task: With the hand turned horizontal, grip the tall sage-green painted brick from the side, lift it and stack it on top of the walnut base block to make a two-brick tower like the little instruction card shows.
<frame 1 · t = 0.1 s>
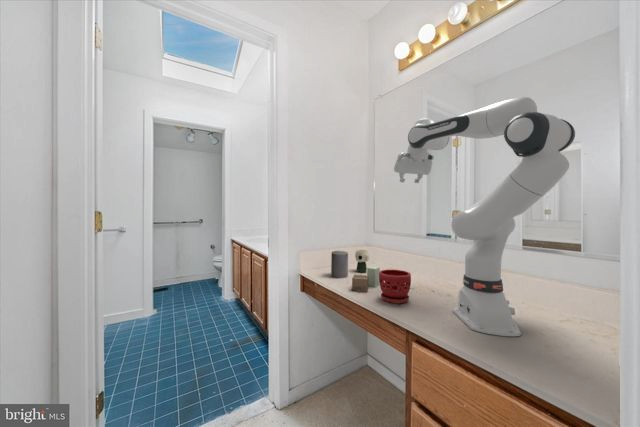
hand: (409, 182, 126), 52 cm above the counter, tool tilted 20°, fingers open, 8 cm apart
character mug: (361, 272, 155), on the counter
sage brick: (373, 285, 128), on the counter
plant pot: (394, 300, 108), on the counter
pillar candle: (339, 276, 145), on the counter
walnut base: (360, 289, 122), on the counter
instruction card: (398, 287, 124), on the counter
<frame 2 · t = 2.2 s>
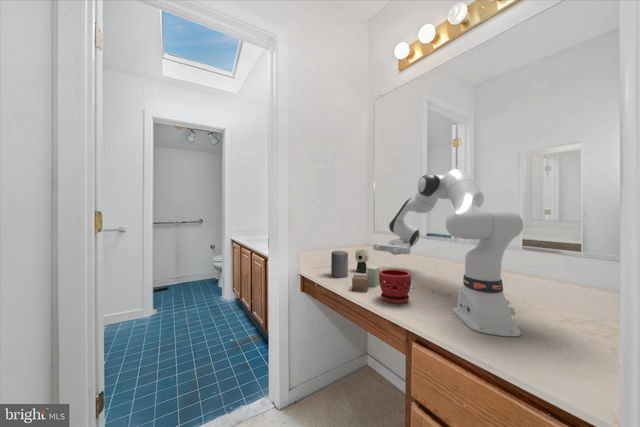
hand: (384, 250, 137), 16 cm above the counter, tool horizontal, fingers open, 8 cm apart
nothing on the counter moved.
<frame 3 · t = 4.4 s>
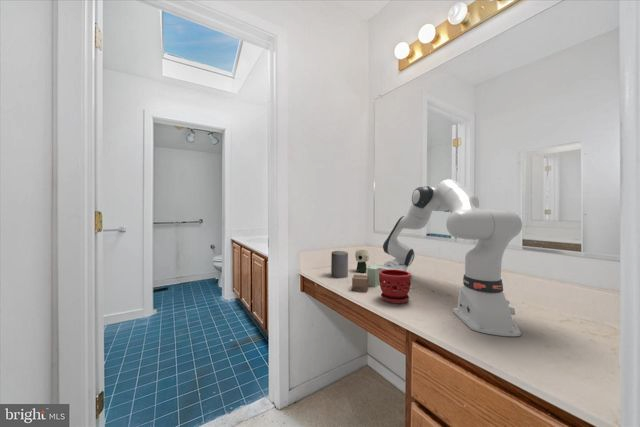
hand: (379, 273, 133), 5 cm above the counter, tool horizontal, fingers open, 8 cm apart
nothing on the counter moved.
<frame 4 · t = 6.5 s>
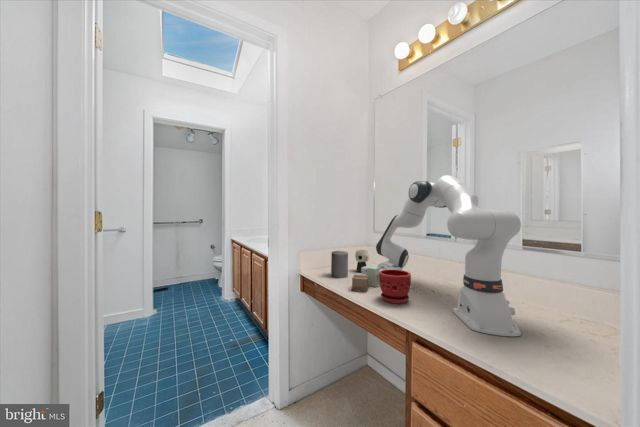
hand: (372, 275, 127), 5 cm above the counter, tool horizontal, fingers closed on sage brick, 4 cm apart
sage brick: (373, 285, 128), on the counter, touching gripper
everything else where it was.
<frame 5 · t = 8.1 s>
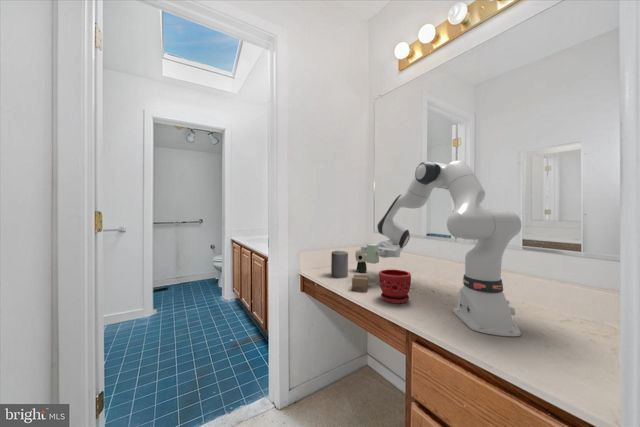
hand: (371, 252, 127), 17 cm above the counter, tool horizontal, fingers closed on sage brick, 4 cm apart
sage brick: (372, 262, 128), point 12 cm above the counter, touching gripper
everything else where it was.
when the fingers open (12 cm above the counter, at t = 10.0 s): sage brick drops 1 cm, resting on walnut base.
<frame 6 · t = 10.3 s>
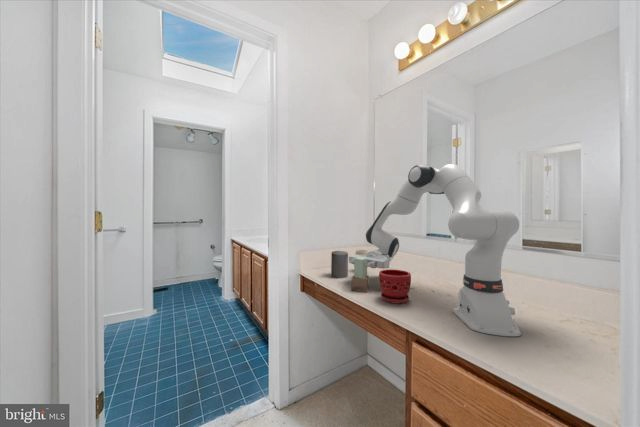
hand: (359, 263, 121), 12 cm above the counter, tool horizontal, fingers open, 7 cm apart
sage brick: (360, 276, 122), point 6 cm above the counter, touching walnut base
everything else where it was.
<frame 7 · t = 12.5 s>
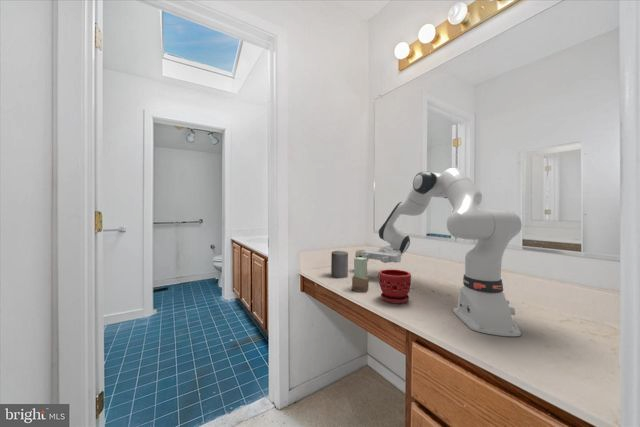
hand: (373, 258, 131), 13 cm above the counter, tool horizontal, fingers open, 8 cm apart
nothing on the counter moved.
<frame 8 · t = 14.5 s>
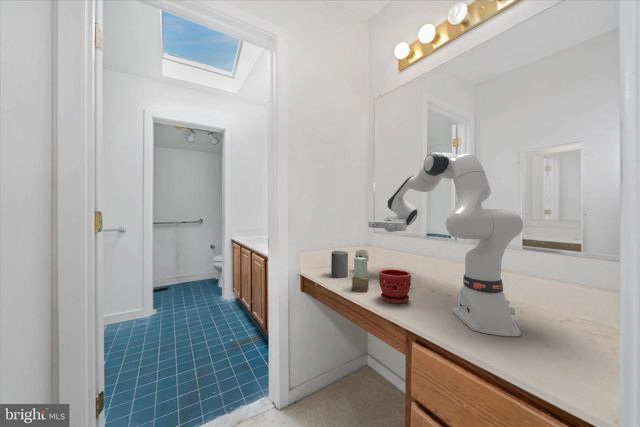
hand: (379, 225, 133), 30 cm above the counter, tool horizontal, fingers open, 8 cm apart
nothing on the counter moved.
at the end: sage brick 0.0 cm off-centre on the walnut base, point 6.0 cm above the walnut base's base; sage brick tilted 0°; the gripper is holding nothing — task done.
